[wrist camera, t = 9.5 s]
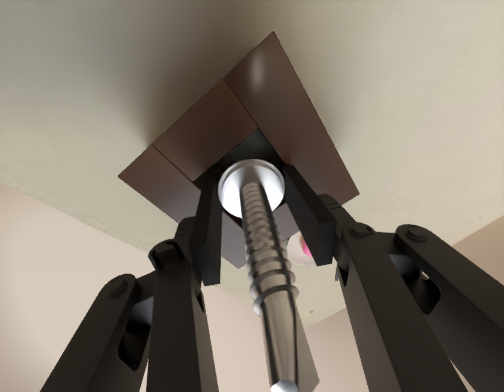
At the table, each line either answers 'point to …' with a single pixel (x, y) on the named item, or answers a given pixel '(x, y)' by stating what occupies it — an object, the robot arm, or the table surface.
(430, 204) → the table surface
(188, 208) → the holder
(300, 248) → the donut
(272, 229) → the screw
